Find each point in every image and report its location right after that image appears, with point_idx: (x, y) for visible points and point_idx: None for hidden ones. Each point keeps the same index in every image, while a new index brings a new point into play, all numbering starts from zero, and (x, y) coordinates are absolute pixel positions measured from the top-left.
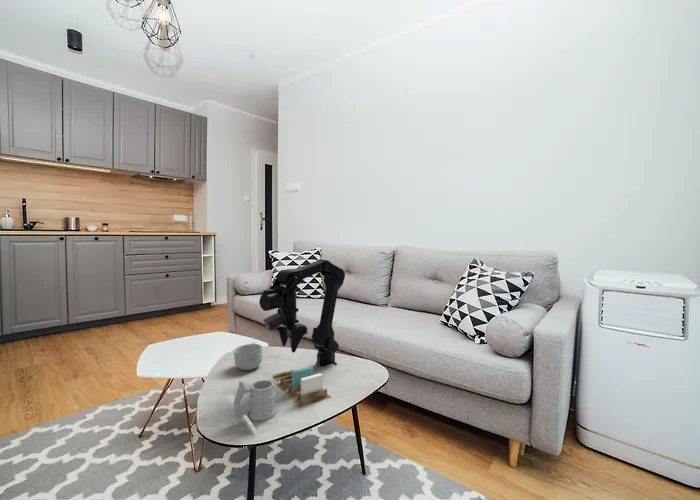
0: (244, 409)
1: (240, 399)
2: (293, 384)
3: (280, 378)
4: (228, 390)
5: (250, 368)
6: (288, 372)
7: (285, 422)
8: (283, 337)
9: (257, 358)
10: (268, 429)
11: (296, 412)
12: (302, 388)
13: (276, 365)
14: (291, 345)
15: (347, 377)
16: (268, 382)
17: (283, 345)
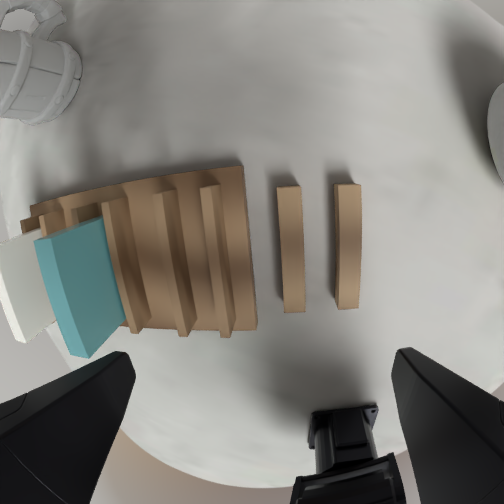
0: (38, 27)
1: (19, 8)
2: (79, 223)
3: (208, 187)
4: None
5: (487, 126)
6: (340, 276)
7: (17, 148)
8: (440, 437)
9: None
10: None
11: (38, 190)
12: (13, 237)
13: (476, 260)
14: (49, 387)
15: (198, 427)
16: None
17: (397, 356)
